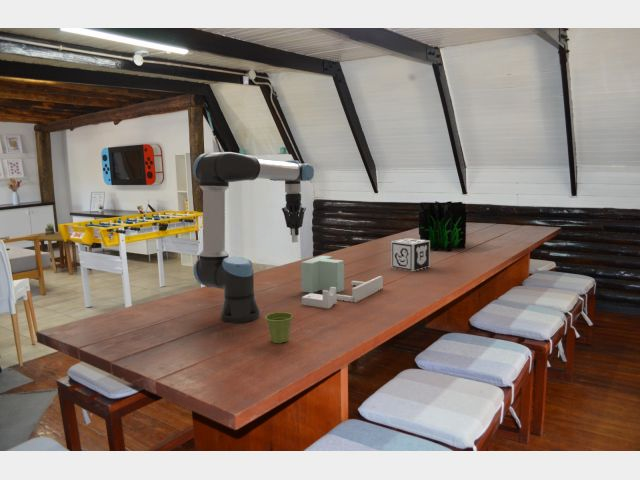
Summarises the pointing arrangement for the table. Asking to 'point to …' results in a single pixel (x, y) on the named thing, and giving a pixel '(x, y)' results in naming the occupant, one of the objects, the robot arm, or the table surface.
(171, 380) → the table surface
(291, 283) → the table surface
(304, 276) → the t block
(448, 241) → the decorative plant
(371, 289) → the white u channel
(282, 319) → the plant pot
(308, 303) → the bracket
